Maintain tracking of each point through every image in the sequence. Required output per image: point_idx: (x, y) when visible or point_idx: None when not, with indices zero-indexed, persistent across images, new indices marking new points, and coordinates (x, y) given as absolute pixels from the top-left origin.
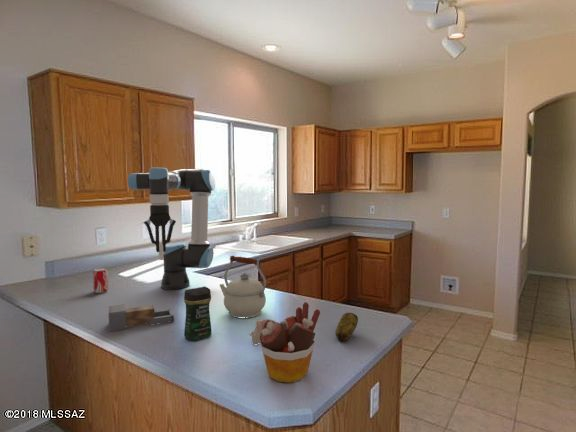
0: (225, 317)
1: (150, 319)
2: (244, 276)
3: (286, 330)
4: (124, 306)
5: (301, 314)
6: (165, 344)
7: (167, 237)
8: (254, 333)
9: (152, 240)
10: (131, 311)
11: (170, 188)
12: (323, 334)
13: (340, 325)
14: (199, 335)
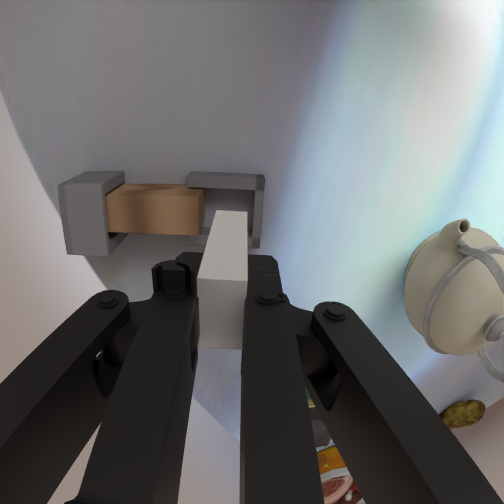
0: (391, 276)
1: (188, 244)
2: (490, 340)
3: (347, 490)
4: (101, 211)
5: None
6: (212, 356)
7: (337, 360)
8: None
9: (106, 377)
10: (126, 231)
11: None
12: (446, 396)
13: (454, 422)
14: None
